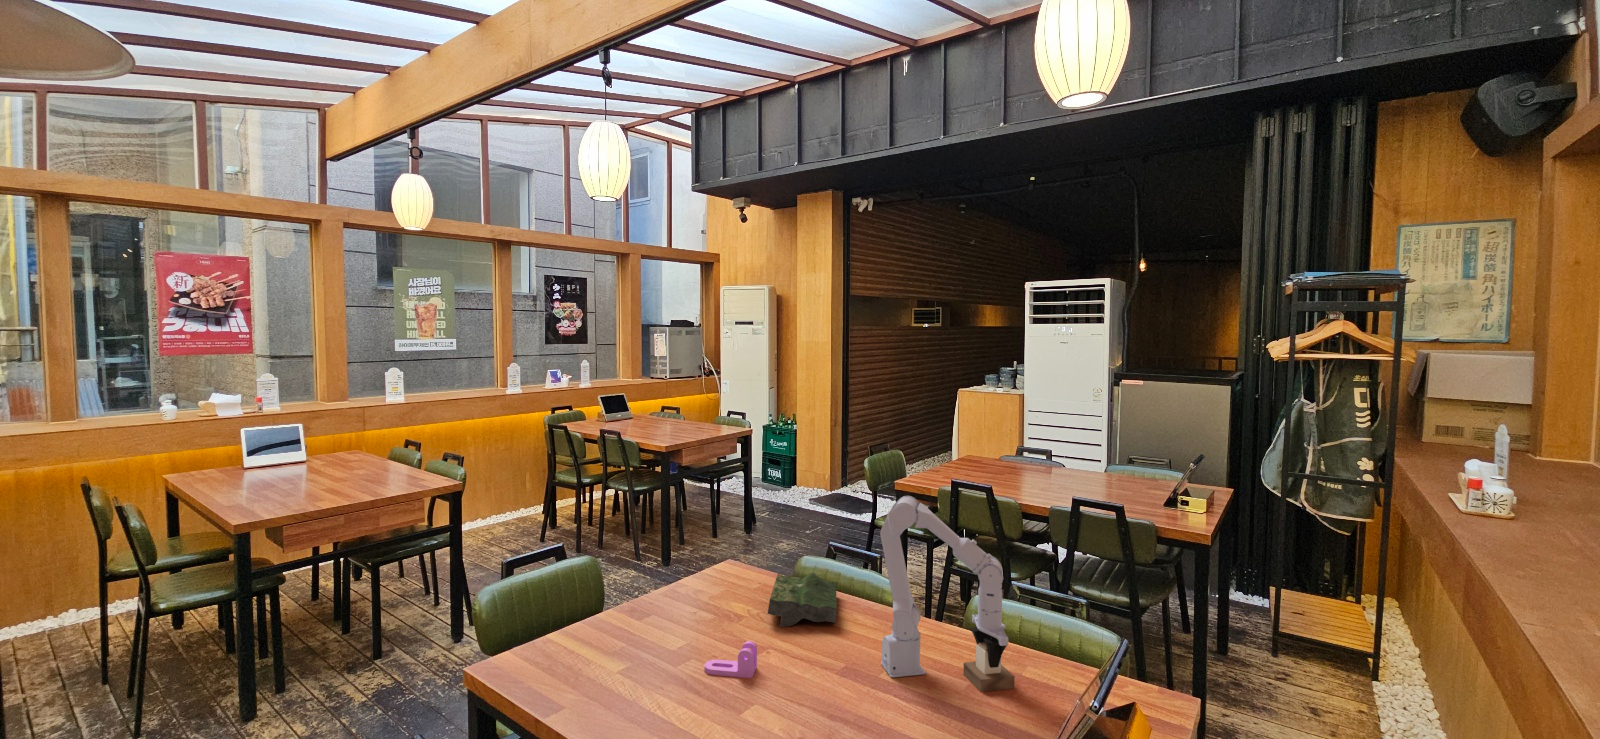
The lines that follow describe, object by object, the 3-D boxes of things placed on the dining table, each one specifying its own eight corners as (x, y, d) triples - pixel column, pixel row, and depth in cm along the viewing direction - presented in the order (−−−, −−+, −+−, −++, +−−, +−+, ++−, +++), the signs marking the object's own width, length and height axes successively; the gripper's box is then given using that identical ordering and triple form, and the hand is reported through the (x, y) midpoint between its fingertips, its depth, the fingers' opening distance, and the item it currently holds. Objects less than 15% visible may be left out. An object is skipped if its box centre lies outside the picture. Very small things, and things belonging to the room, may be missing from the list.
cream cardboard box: (984, 674, 161) (985, 649, 161) (975, 666, 165) (976, 642, 165) (1000, 672, 162) (1001, 648, 162) (991, 664, 166) (992, 640, 166)
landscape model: (834, 633, 194) (838, 599, 194) (766, 625, 195) (769, 591, 195) (834, 606, 220) (837, 576, 220) (774, 598, 221) (777, 568, 221)
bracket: (756, 668, 169) (757, 641, 169) (752, 678, 163) (752, 651, 163) (708, 664, 171) (708, 637, 171) (701, 674, 165) (702, 646, 165)
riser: (980, 691, 158) (980, 679, 158) (963, 674, 167) (963, 662, 167) (1014, 688, 160) (1014, 676, 160) (995, 671, 169) (995, 659, 169)
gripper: (1020, 618, 157) (1019, 674, 157) (989, 596, 171) (988, 647, 172) (993, 620, 156) (992, 677, 156) (965, 598, 170) (964, 650, 170)
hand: (988, 662), depth 164 cm, fingers closed on cream cardboard box, 4 cm apart
